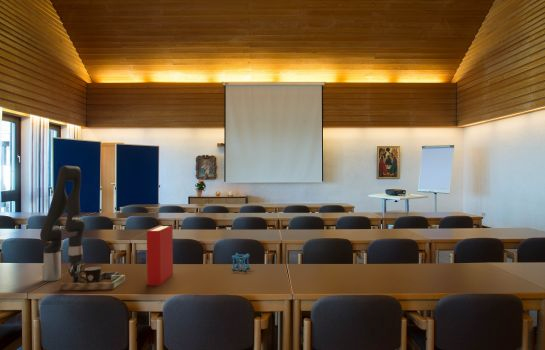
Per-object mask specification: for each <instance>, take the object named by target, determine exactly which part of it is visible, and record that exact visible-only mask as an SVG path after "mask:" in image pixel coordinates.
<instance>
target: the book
mask: <svg viewBox="0 0 545 350" xmlns="http://www.w3.org/2000/svg"><path fill="white" fill-rule="evenodd" d="M173 233H174V232H173V224H171V225H165V226H164V225H161V224H159V225H157V226H155V227H152V228H149V229H147V230H146V277H147V278H146V283H147V286H160V285H162V284H163V283H164V282H166V281H167V280H168V279H169V278H170V277H171V276H172V275H173V274H174V254H173V253H174V252H173V251H174V250H173V248H174V244H173V243H174V241H173V238H174V236H173Z"/></svg>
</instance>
